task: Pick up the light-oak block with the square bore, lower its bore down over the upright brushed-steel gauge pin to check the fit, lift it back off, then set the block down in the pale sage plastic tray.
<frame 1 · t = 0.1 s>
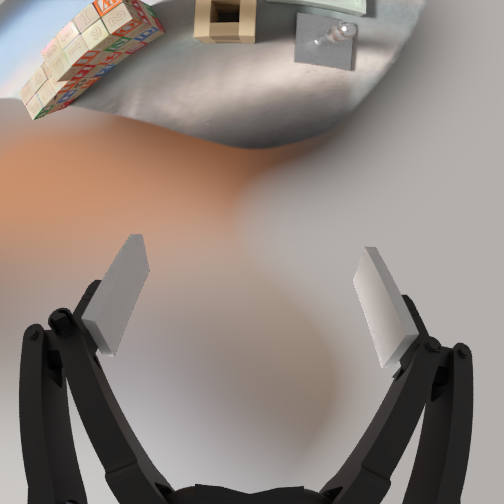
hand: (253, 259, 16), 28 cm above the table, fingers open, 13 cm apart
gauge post: (323, 41, 28), on the table
stack of blocks: (102, 57, 29), on the table
oak block: (230, 22, 27), on the table
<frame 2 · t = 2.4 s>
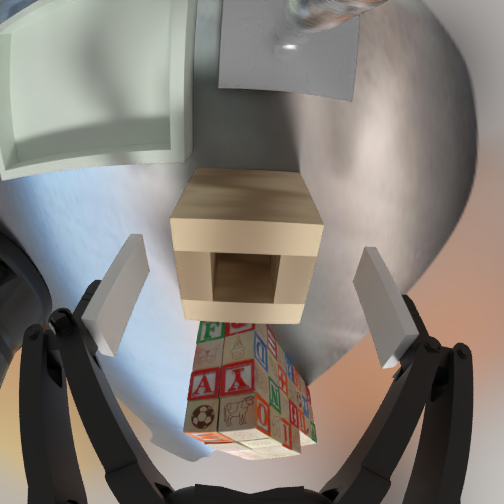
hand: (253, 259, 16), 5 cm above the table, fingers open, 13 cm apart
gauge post: (289, 33, 12), on the table
stack of blocks: (265, 361, 32), on the table
oak block: (245, 214, 20), on the table
tray: (80, 70, 13), on the table
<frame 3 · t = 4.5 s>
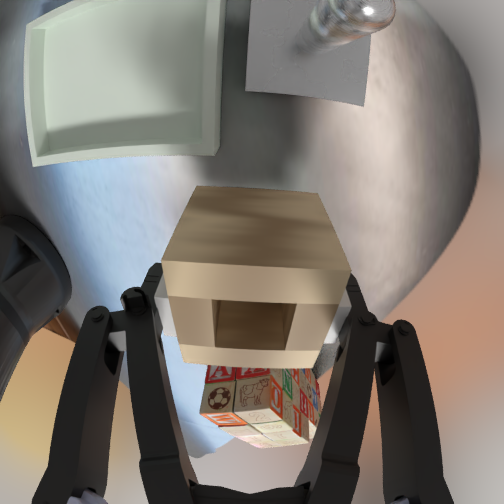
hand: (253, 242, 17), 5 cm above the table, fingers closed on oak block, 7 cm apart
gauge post: (309, 43, 14), on the table
stack of blocks: (278, 353, 34), on the table
oak block: (253, 239, 17), point 5 cm above the table, touching gripper
tray: (115, 68, 15), on the table
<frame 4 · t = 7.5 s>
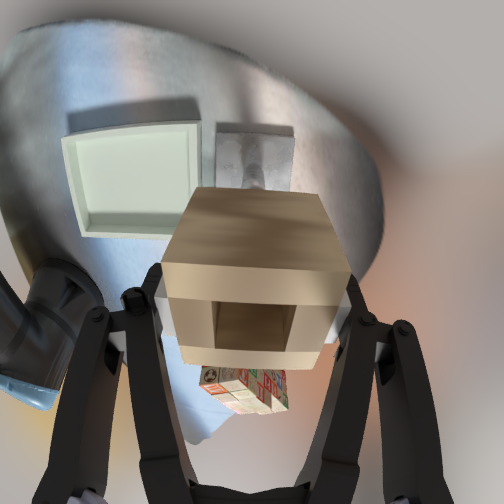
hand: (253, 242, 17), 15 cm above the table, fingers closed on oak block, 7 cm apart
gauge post: (253, 168, 29), on the table
stack of blocks: (251, 349, 49), on the table
oak block: (253, 240, 17), point 14 cm above the table, touching gripper
tray: (134, 179, 29), on the table
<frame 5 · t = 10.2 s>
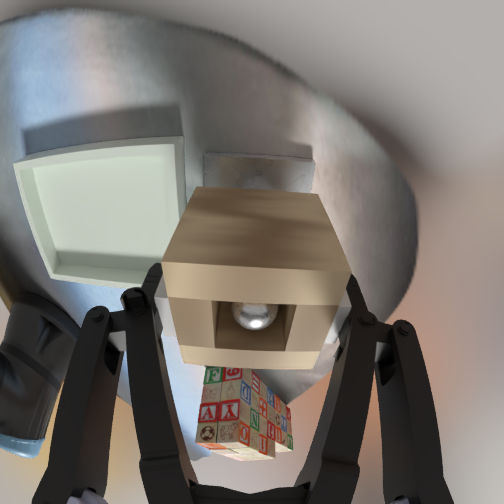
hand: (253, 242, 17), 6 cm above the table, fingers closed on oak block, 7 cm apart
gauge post: (256, 202, 22), on the table
stack of blocks: (254, 391, 42), on the table
oak block: (253, 240, 17), point 5 cm above the table, touching gripper
tray: (103, 213, 22), on the table
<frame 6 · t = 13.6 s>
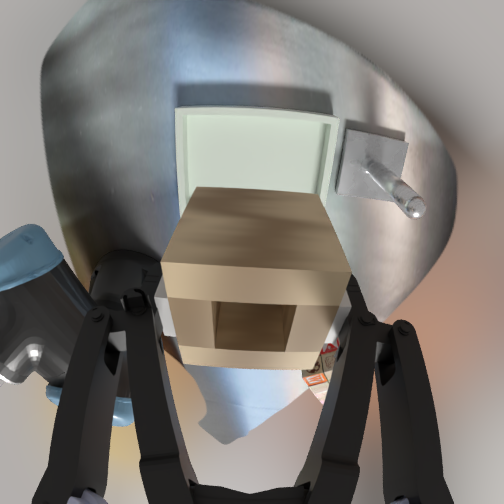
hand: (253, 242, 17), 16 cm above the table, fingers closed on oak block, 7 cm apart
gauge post: (371, 165, 30), on the table
stack of blocks: (327, 341, 50), on the table
oak block: (253, 240, 17), point 16 cm above the table, touching gripper
tray: (254, 164, 30), on the table
when the fingers open (2 cm above the table, at t = 16.3 s): oak block drops 1 cm, resting on tray.
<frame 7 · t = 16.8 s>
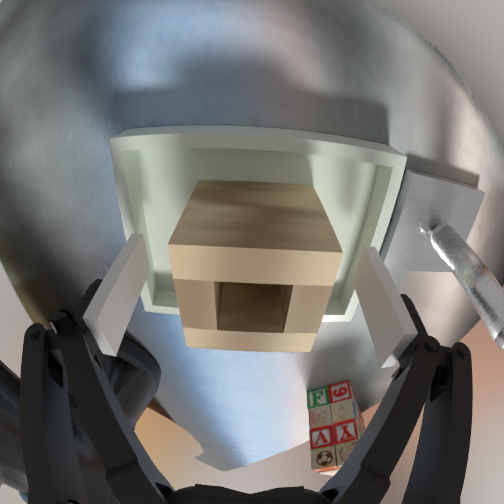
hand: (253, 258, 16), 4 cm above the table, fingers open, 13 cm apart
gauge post: (431, 223, 18), on the table
stack of blocks: (339, 405, 39), on the table
oak block: (253, 230, 18), point 1 cm above the table, touching tray
tray: (254, 226, 19), on the table
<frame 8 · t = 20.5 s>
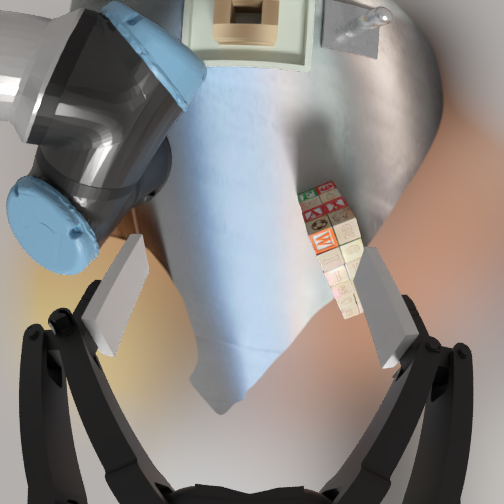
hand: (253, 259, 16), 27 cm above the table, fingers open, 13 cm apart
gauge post: (350, 28, 26), on the table
stack of blocks: (333, 238, 47), on the table
oak block: (248, 23, 26), point 1 cm above the table, touching tray
tray: (248, 23, 27), on the table
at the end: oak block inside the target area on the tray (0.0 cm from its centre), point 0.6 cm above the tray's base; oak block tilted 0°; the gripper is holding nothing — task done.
